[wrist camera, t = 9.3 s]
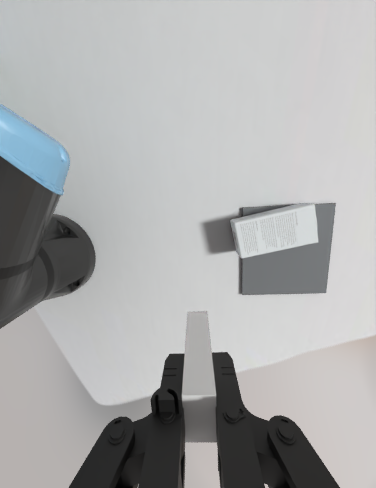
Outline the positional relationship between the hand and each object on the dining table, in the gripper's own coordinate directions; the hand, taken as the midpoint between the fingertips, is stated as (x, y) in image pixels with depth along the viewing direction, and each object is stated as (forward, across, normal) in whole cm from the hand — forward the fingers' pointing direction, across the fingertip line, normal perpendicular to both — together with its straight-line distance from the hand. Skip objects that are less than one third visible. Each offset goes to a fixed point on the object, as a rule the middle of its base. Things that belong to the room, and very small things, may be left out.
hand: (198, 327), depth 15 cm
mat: (+21, +16, 0) cm, 27 cm away
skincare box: (+19, +6, +3) cm, 20 cm away
